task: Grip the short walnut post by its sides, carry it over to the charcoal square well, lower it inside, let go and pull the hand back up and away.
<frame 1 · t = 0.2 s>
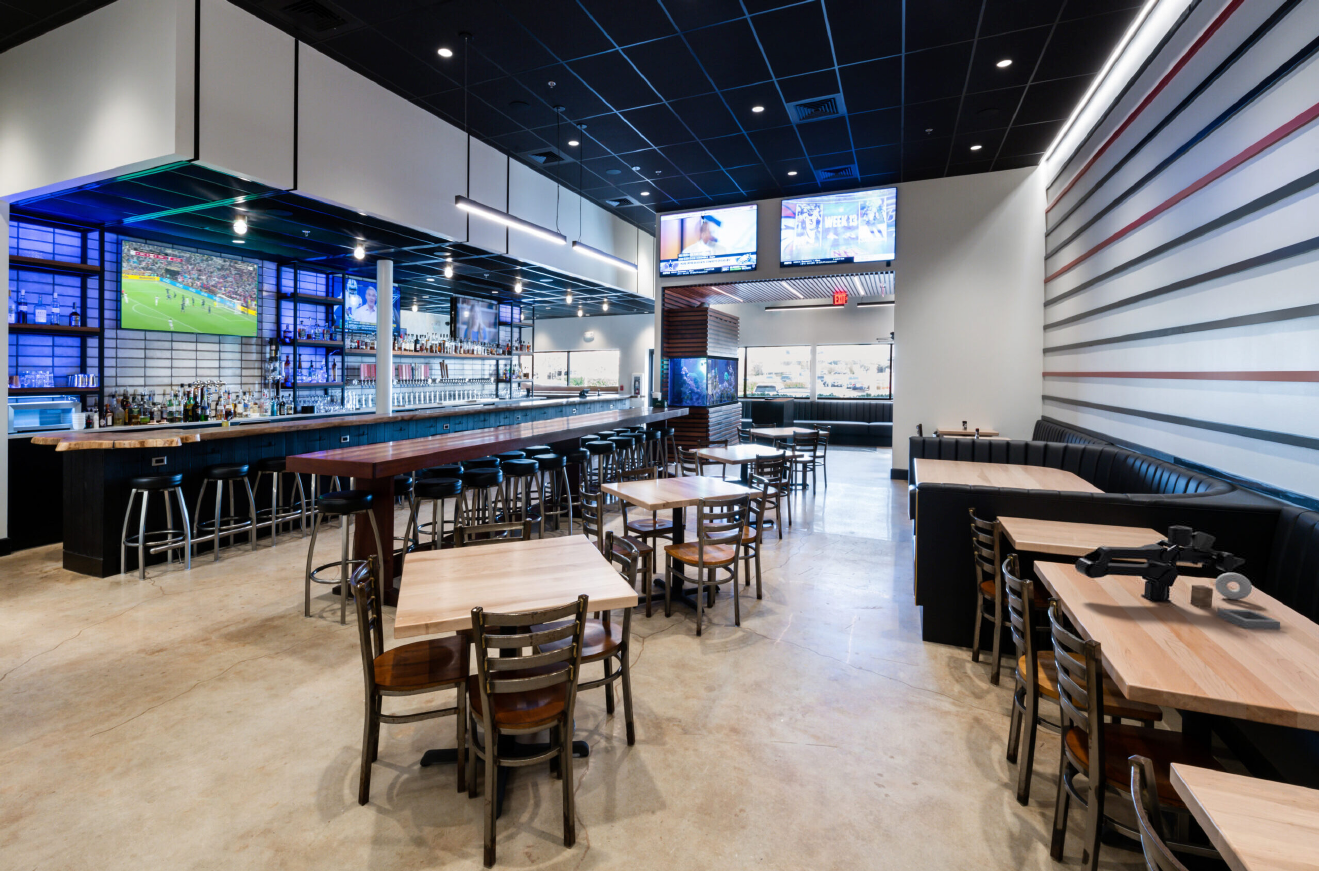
hand: (1233, 557, 218), 16 cm above the table, tool horizontal, fingers open, 9 cm apart
square well: (1247, 622, 200), on the table
walnut post: (1200, 606, 215), on the table
donut: (1232, 599, 221), on the table
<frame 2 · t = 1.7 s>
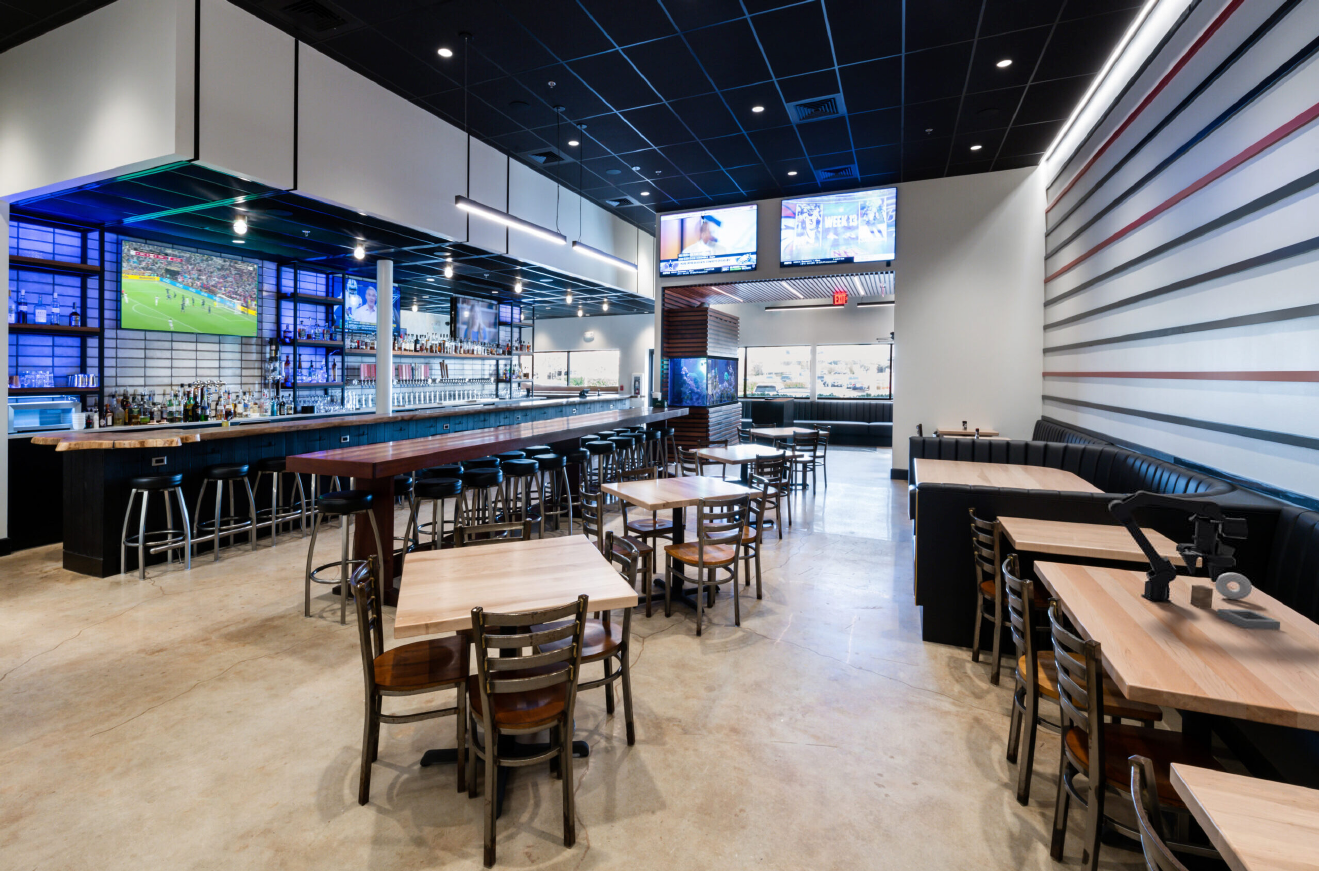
hand: (1202, 577, 214), 10 cm above the table, tool pointing down, fingers open, 9 cm apart
nothing on the table moved.
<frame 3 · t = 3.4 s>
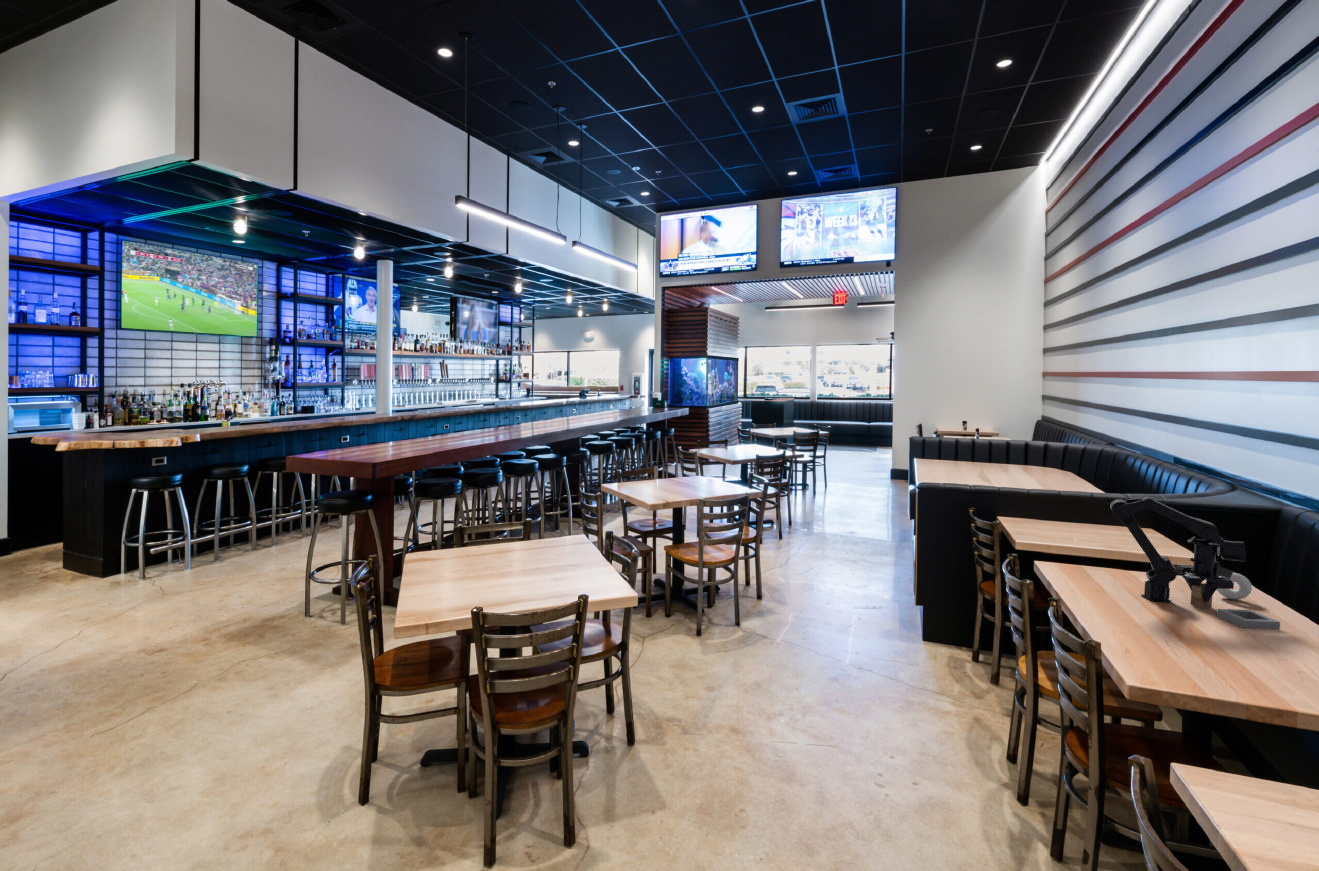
hand: (1201, 599, 215), 2 cm above the table, tool pointing down, fingers closed on walnut post, 4 cm apart
walnut post: (1200, 605, 215), on the table, touching gripper
everything else where it was.
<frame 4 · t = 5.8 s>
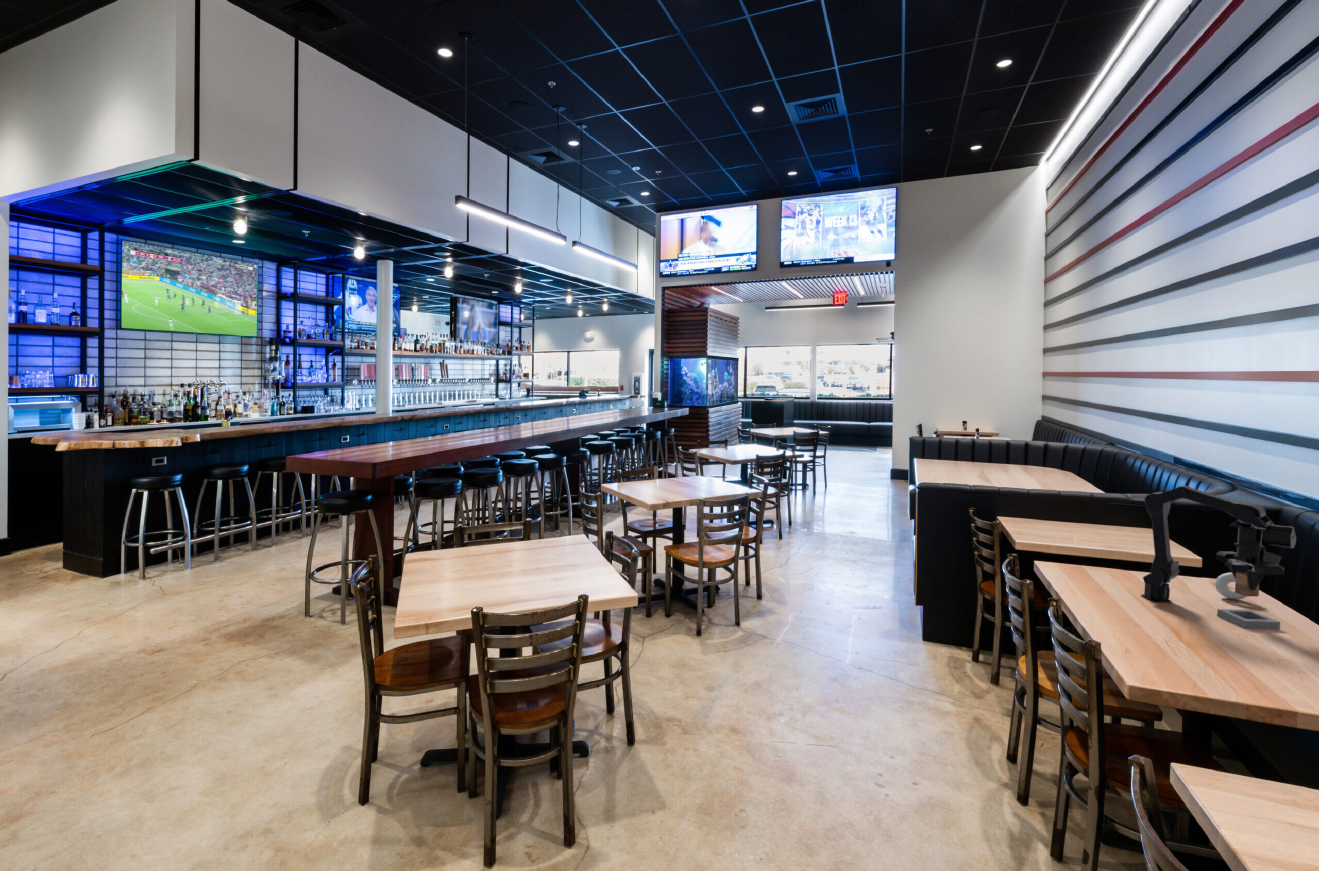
hand: (1246, 587, 200), 11 cm above the table, tool pointing down, fingers closed on walnut post, 4 cm apart
walnut post: (1246, 594, 200), point 9 cm above the table, touching gripper
everything else where it was.
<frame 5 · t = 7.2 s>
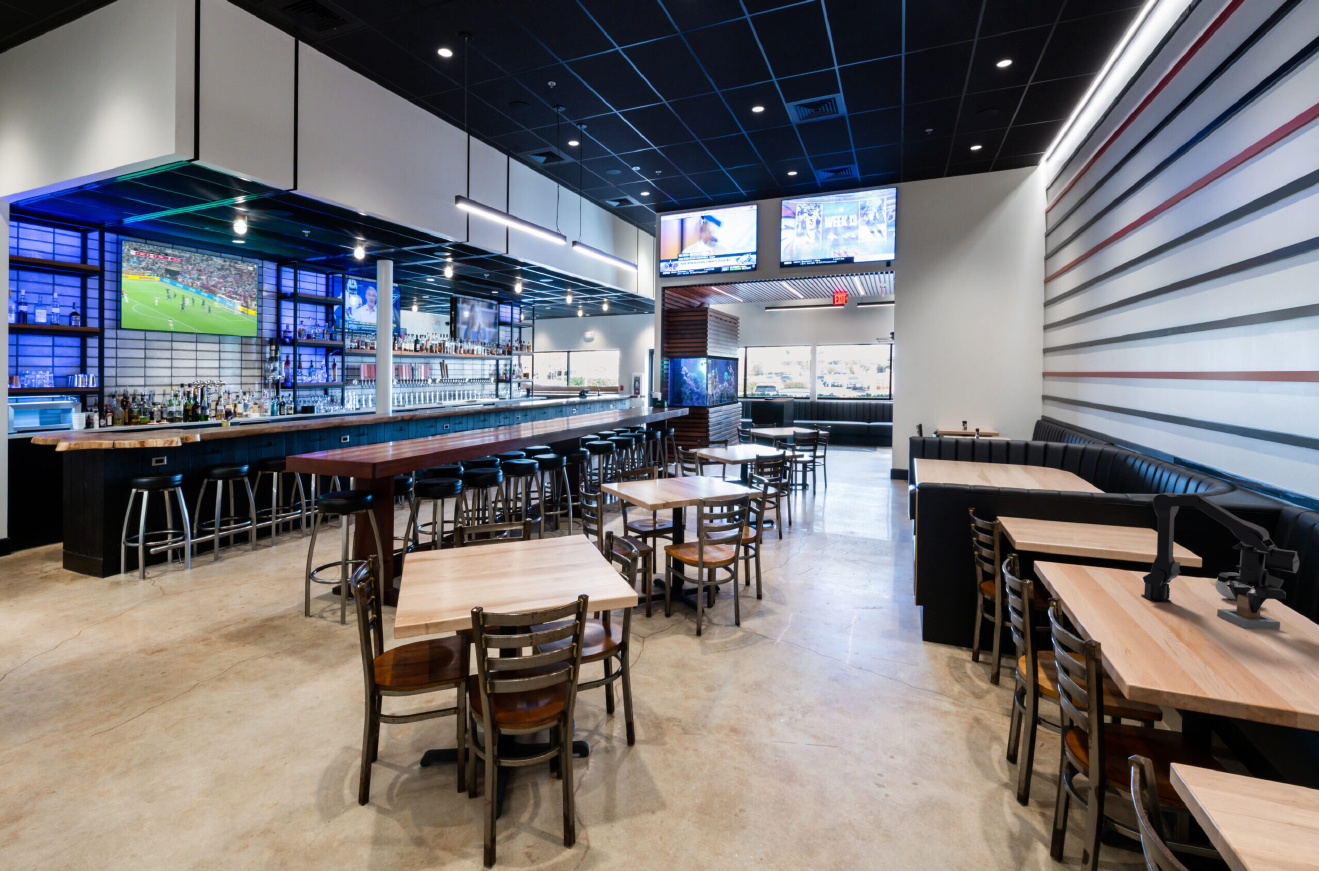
hand: (1248, 610, 199), 4 cm above the table, tool pointing down, fingers closed on walnut post, 4 cm apart
walnut post: (1247, 617, 200), point 2 cm above the table, touching gripper
everything else where it was.
when the fingers open (3 cm above the table, at t = 8.1 s): walnut post drops 1 cm, resting in square well.
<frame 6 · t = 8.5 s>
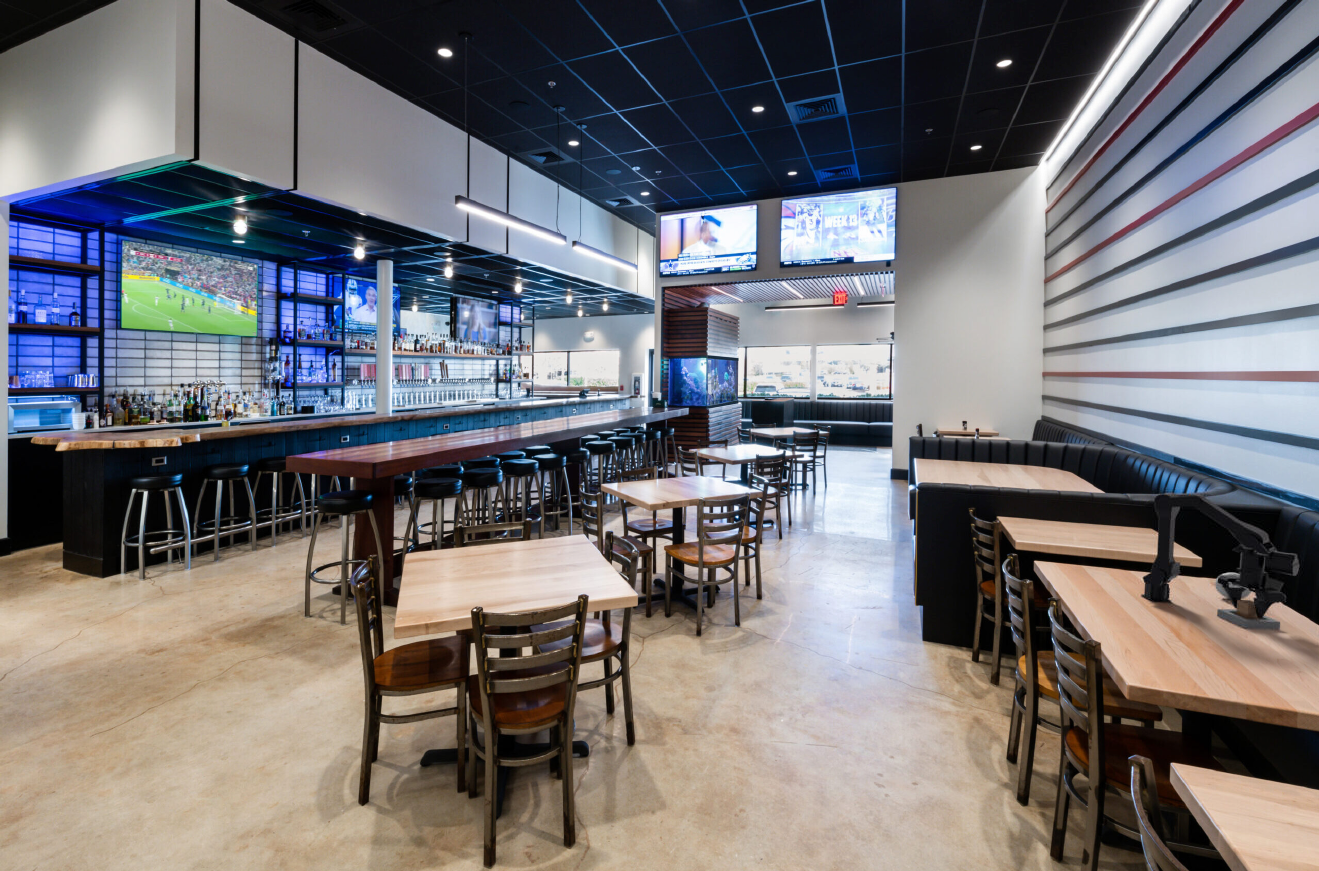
hand: (1248, 613, 199), 3 cm above the table, tool pointing down, fingers open, 8 cm apart
walnut post: (1247, 622, 200), resting in square well
everything else where it was.
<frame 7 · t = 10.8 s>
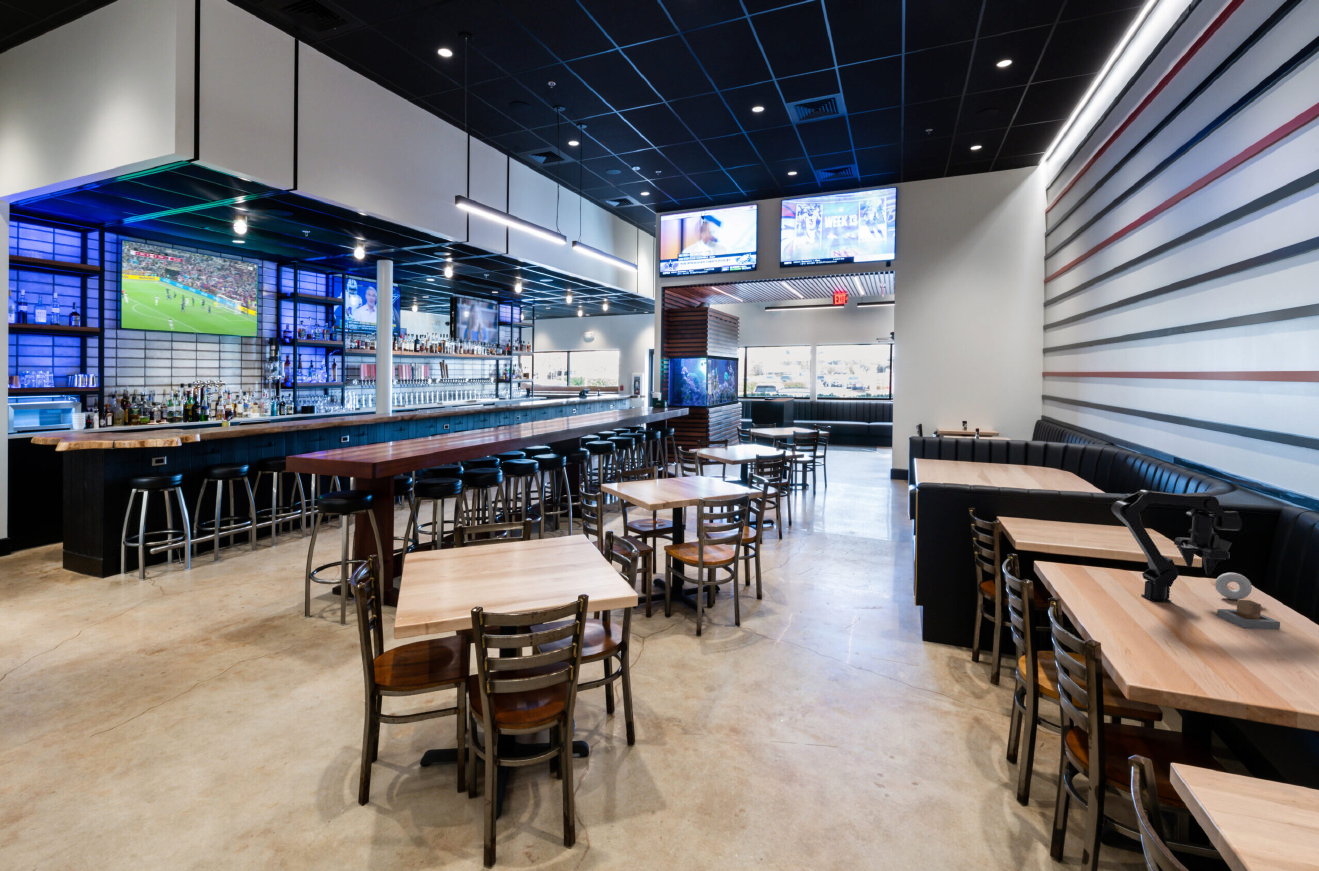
hand: (1198, 570, 218), 12 cm above the table, tool pointing down, fingers open, 9 cm apart
nothing on the table moved.
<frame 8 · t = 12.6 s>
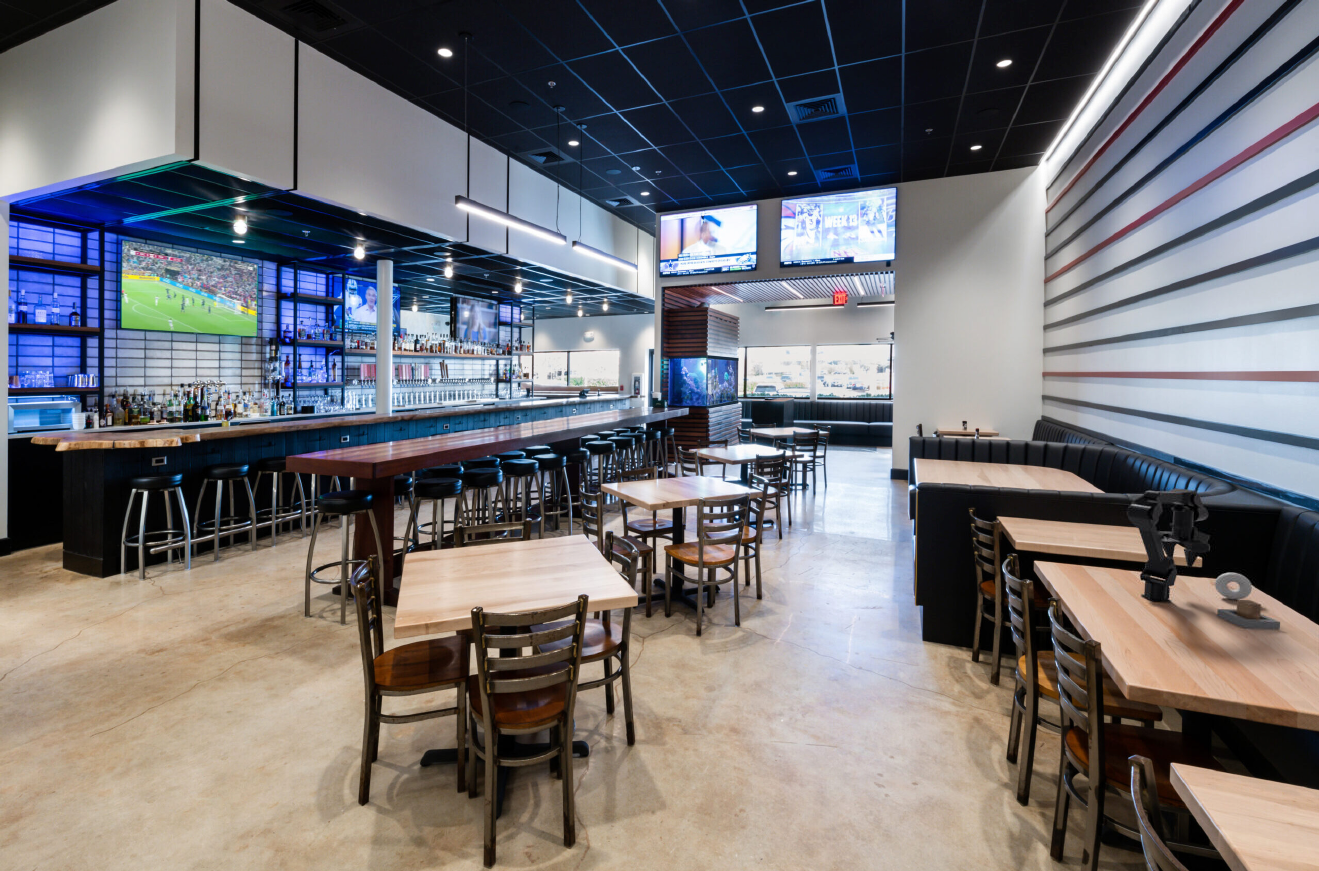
hand: (1179, 563, 226), 12 cm above the table, tool pointing down, fingers open, 9 cm apart
nothing on the table moved.
at the end: walnut post 0.0 cm off-centre on the square well, point 0.0 cm above the square well's base; walnut post tilted 0°; the gripper is holding nothing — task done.
